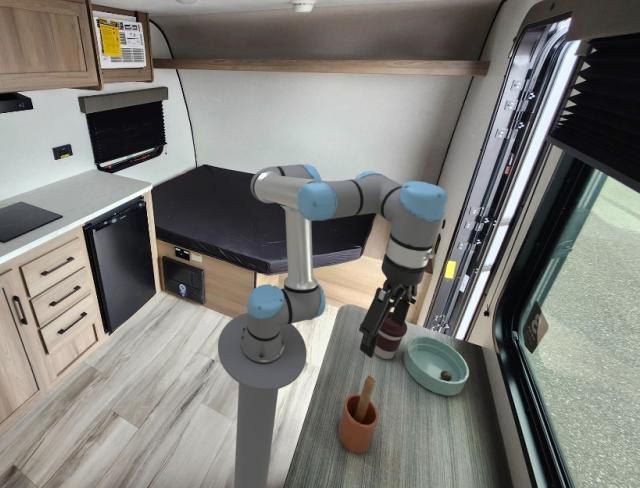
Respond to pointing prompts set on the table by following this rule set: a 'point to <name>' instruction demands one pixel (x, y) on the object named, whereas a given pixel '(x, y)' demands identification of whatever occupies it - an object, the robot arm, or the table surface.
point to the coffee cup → (389, 338)
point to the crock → (357, 425)
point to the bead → (446, 376)
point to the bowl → (435, 365)
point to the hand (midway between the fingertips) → (382, 337)
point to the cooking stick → (364, 399)
